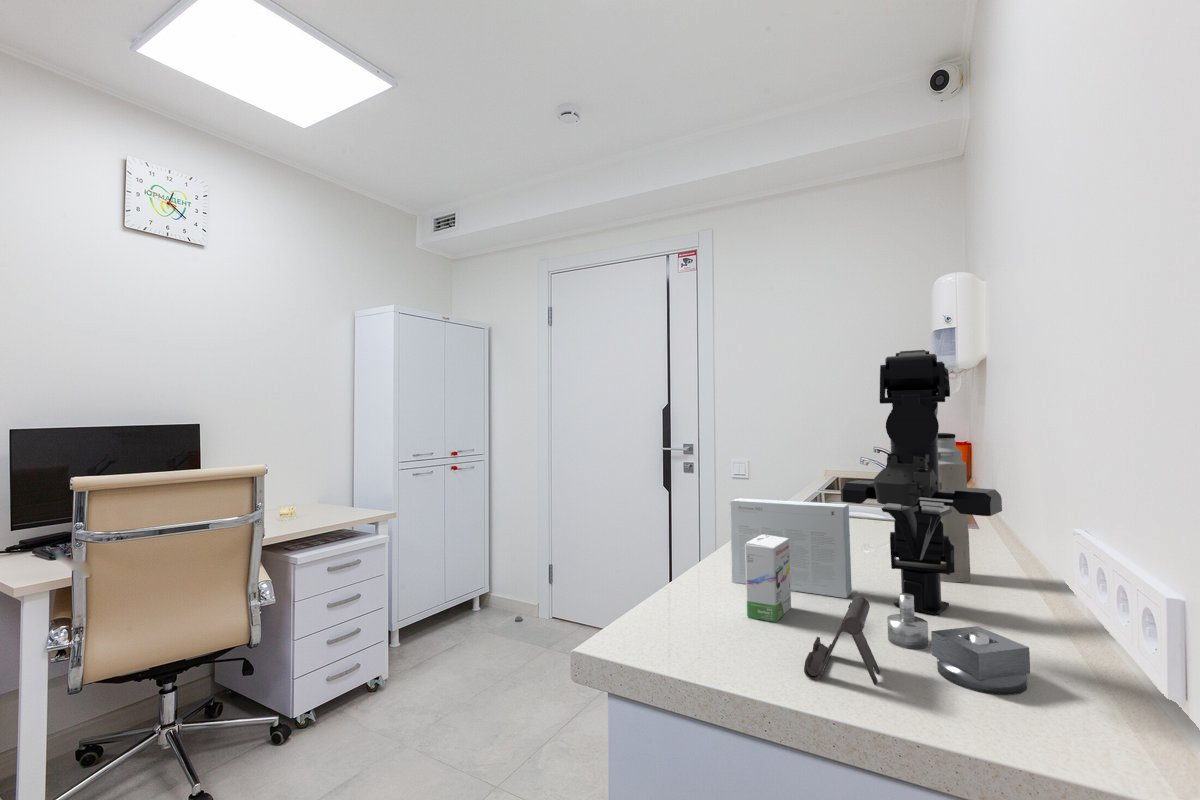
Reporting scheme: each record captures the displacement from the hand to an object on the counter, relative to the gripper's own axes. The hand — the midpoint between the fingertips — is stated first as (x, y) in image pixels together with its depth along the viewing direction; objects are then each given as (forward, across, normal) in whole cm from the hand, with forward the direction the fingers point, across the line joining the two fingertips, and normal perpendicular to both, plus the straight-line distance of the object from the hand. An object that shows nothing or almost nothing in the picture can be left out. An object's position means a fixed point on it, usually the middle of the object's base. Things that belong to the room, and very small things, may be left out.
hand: (917, 559), depth 77 cm
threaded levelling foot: (+12, -2, +1) cm, 12 cm away
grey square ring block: (+10, +8, -4) cm, 14 cm away
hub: (+12, +8, -4) cm, 15 cm away
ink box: (+12, -22, -2) cm, 25 cm away
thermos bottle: (+12, -9, +40) cm, 43 cm away
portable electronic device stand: (+12, -4, -14) cm, 19 cm away
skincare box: (+12, -27, +13) cm, 32 cm away
